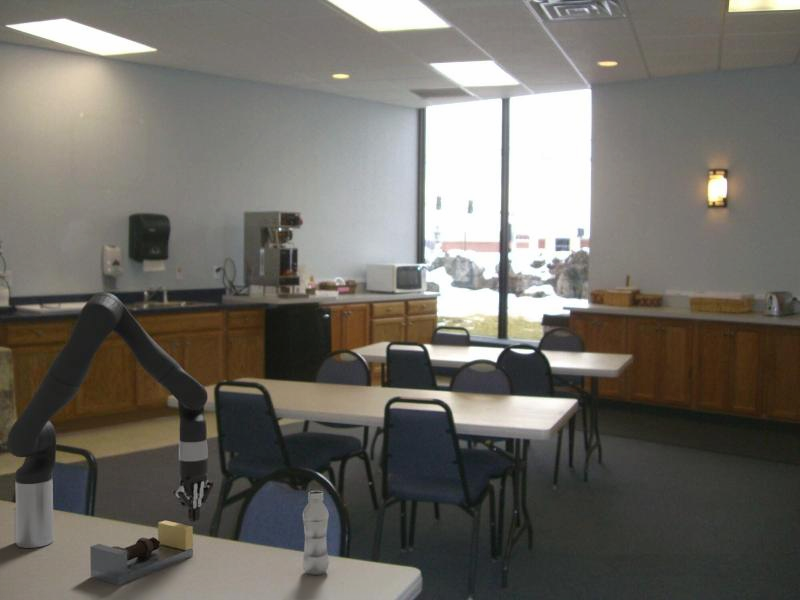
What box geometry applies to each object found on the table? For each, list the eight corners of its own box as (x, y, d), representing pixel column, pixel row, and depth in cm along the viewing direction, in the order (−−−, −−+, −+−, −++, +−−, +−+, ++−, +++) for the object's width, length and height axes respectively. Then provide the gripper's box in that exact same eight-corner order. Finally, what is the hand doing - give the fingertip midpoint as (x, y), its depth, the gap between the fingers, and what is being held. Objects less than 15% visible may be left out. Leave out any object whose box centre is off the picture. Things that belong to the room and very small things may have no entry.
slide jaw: (158, 543, 229) (158, 522, 229) (165, 540, 231) (165, 520, 231) (185, 550, 224) (185, 529, 224) (192, 547, 226) (192, 526, 226)
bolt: (158, 557, 224) (116, 575, 210) (144, 545, 226) (102, 562, 212) (167, 540, 223) (125, 556, 209) (154, 527, 224) (111, 543, 211)
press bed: (90, 577, 211) (90, 546, 211) (165, 548, 232) (165, 521, 231) (119, 585, 206) (118, 554, 205) (192, 556, 226) (192, 527, 226)
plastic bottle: (333, 569, 217) (333, 490, 216) (321, 579, 211) (322, 497, 210) (309, 566, 219) (309, 488, 218) (297, 576, 213) (297, 495, 212)
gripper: (185, 463, 224) (186, 529, 225) (221, 453, 236) (222, 517, 236) (164, 459, 228) (165, 525, 229) (201, 450, 240) (201, 512, 240)
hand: (194, 521), depth 233 cm, fingers closed
